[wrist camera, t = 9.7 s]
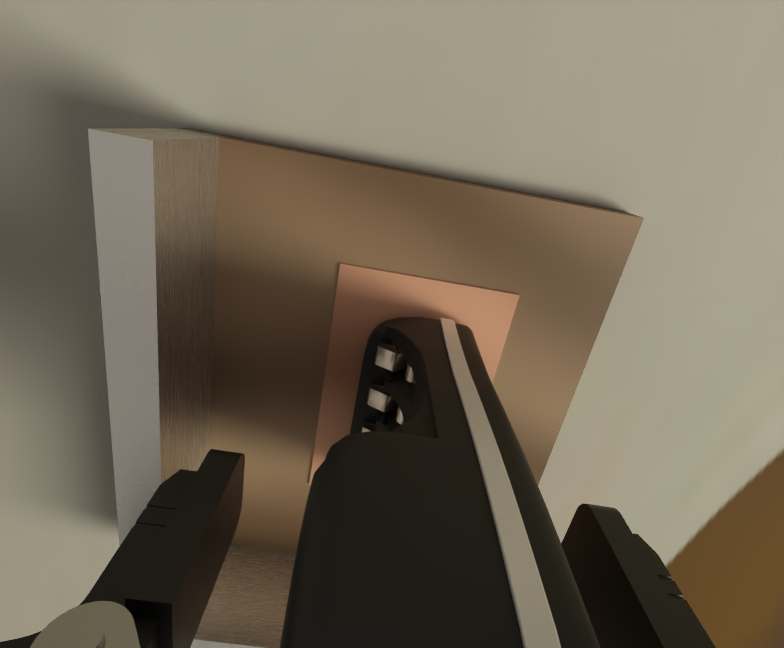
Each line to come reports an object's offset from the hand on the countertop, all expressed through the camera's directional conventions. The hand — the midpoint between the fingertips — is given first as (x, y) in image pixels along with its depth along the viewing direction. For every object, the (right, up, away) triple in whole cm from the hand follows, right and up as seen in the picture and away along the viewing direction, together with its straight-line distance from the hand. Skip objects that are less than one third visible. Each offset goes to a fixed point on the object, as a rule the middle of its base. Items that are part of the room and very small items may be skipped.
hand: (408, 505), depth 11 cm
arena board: (-1, +1, +5) cm, 6 cm away
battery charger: (0, +2, +4) cm, 5 cm away
